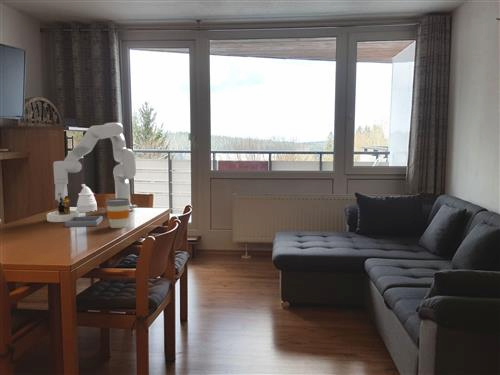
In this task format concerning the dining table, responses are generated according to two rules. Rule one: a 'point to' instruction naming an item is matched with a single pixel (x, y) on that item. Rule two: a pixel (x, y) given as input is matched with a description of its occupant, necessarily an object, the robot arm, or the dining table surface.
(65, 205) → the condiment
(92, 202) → the honey pot
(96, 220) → the square frame
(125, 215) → the reusable coffee cup
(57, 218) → the bowl
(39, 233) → the dining table surface
